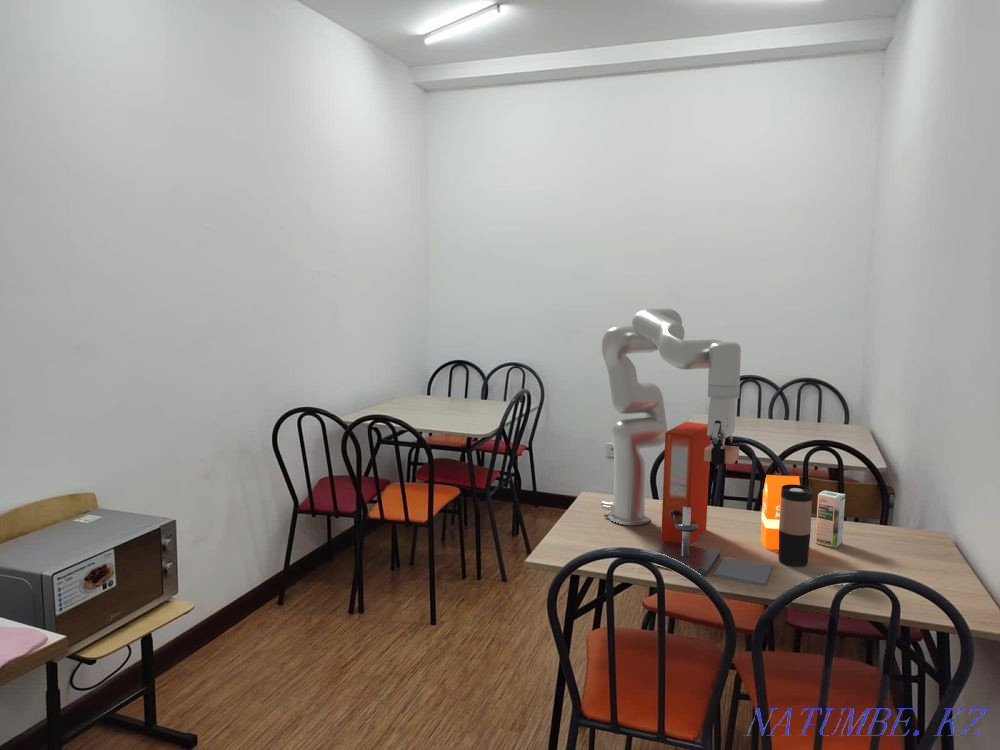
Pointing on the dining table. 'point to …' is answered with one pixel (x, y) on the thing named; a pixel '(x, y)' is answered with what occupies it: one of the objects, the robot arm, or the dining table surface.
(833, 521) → the syrup box
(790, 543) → the travel mug
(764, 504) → the orange juice
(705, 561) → the stand
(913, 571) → the dining table surface
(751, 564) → the mat
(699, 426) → the file binder
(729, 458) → the collar
